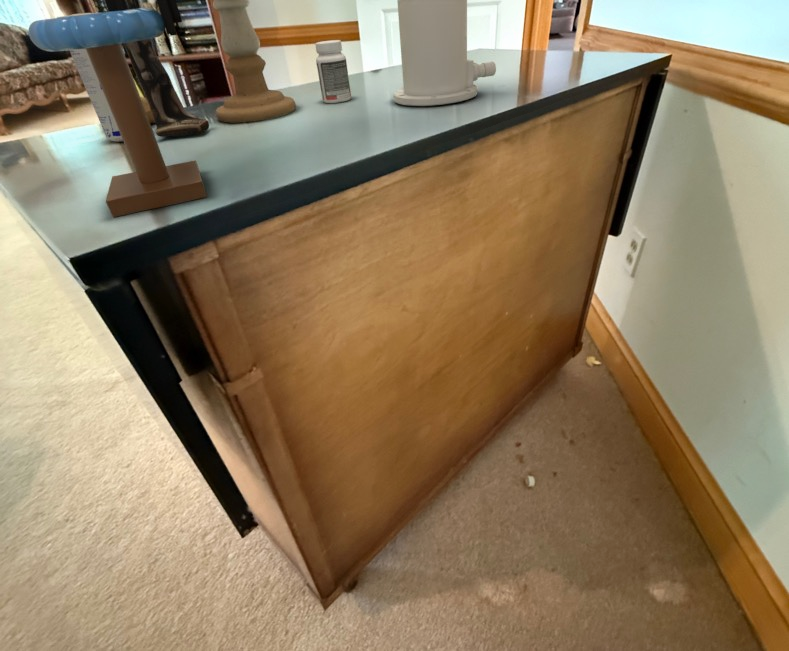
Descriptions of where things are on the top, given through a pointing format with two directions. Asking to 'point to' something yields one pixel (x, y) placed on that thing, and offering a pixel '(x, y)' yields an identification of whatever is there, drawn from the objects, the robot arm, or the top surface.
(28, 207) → the top surface
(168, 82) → the statue
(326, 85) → the pill bottle
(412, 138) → the top surface
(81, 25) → the ring
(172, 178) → the brown upside-down t-shape
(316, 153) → the top surface
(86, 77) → the white blue box
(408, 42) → the robot arm
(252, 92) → the candle holder
